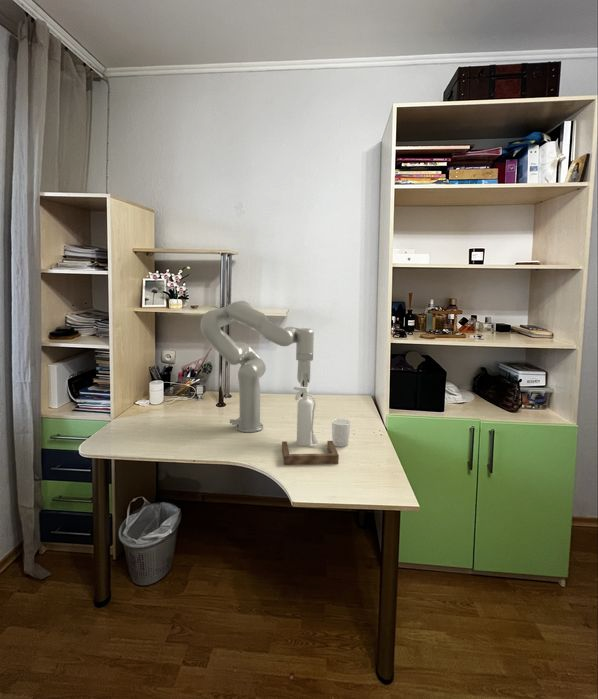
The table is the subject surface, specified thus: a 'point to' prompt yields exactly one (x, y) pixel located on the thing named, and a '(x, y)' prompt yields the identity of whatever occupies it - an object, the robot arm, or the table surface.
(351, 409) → the table surface
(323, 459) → the u rest
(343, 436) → the white cup
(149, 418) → the table surface
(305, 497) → the table surface
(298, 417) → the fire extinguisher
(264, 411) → the table surface
